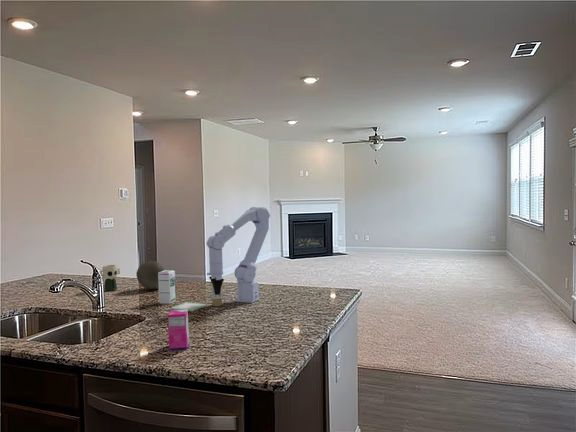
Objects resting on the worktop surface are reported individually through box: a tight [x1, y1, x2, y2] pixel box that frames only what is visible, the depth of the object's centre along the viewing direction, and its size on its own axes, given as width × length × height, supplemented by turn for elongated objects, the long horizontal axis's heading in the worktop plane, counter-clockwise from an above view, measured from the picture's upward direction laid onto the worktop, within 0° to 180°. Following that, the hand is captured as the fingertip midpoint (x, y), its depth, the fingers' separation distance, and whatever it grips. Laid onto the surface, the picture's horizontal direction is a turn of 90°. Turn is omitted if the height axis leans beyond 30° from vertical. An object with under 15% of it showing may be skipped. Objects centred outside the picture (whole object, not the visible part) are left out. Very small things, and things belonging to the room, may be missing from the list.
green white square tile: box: [170, 301, 207, 312], centre depth 197 cm, size 11×11×1 cm
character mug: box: [99, 264, 121, 291], centre depth 236 cm, size 11×7×13 cm, turn 139°
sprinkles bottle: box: [210, 275, 223, 307], centre depth 199 cm, size 5×5×14 cm
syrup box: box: [158, 269, 177, 305], centre depth 206 cm, size 6×6×14 cm
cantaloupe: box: [135, 260, 165, 290], centre depth 236 cm, size 14×14×15 cm
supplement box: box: [167, 309, 190, 351], centre depth 144 cm, size 6×6×12 cm
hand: (216, 293), depth 199 cm, fingers closed on sprinkles bottle, 4 cm apart
